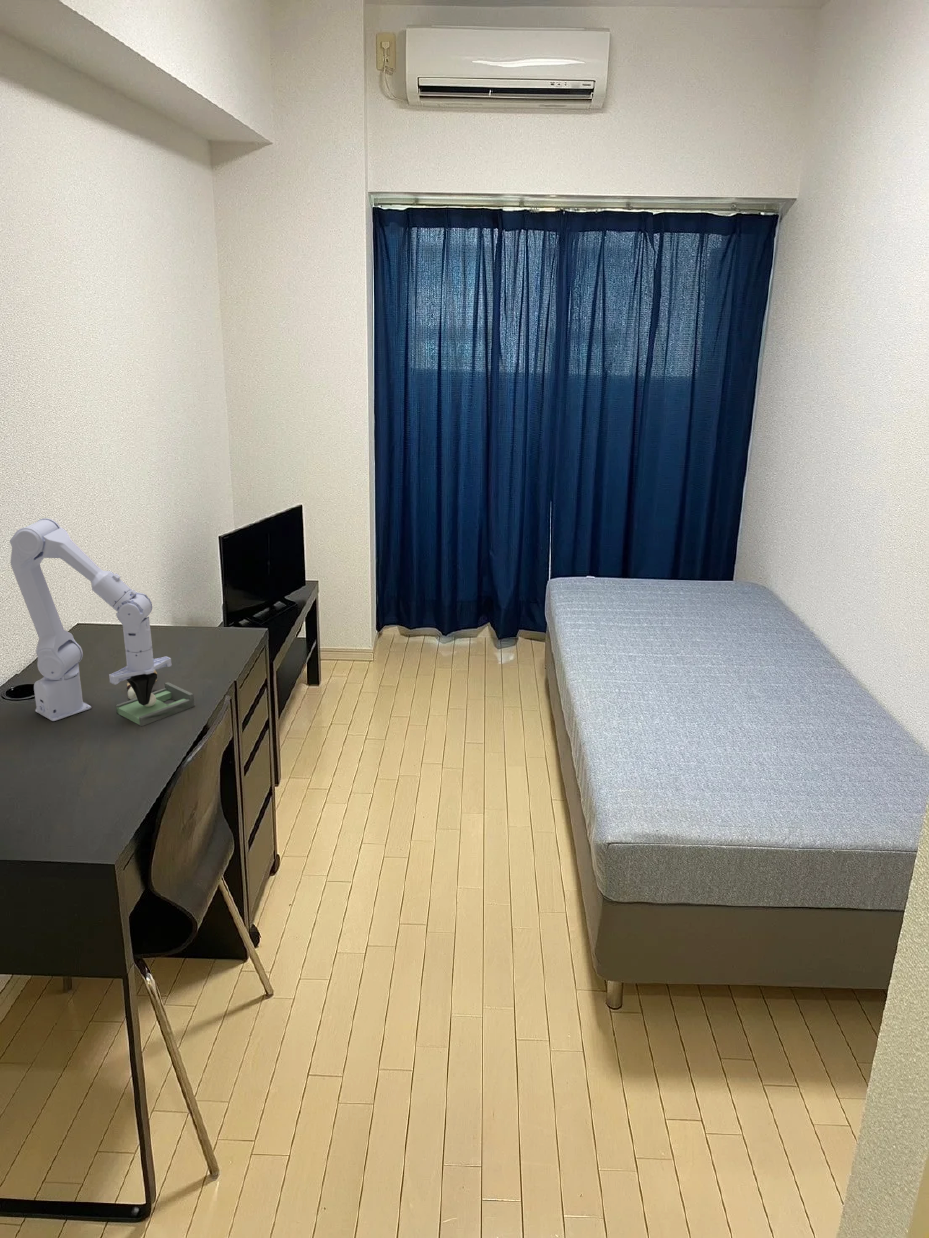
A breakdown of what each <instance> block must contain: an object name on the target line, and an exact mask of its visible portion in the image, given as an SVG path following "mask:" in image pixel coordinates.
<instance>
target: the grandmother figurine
mask: <svg viewBox="0 0 929 1238" xmlns="http://www.w3.org/2000/svg"><path fill="white" fill-rule="evenodd" d="M154 673H156V674H157V675H158V672H157V671H156V670H154ZM156 682H158V678H157V679H156V681H155V683H156ZM126 689H127V697H128V699H129V700H132V699H135V698H137V696H136V694H135V692H134V690H133V688H132V687H131V685H130V684H129V682H127V683H126Z"/></svg>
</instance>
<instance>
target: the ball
mask: <svg viewBox="0 0 929 1238" xmlns="http://www.w3.org/2000/svg"><path fill="white" fill-rule="evenodd" d="M155 703H156V697H155V695H154V694H152V692H151V696H150V701H149V703H148V704H146V705H144V706H146V707H151V706H153V705H154V704H155Z"/></svg>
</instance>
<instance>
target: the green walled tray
mask: <svg viewBox="0 0 929 1238" xmlns="http://www.w3.org/2000/svg"><path fill="white" fill-rule="evenodd" d="M151 693H152V694H154V695H155V697H156V703H155V704H154V705H153V706H151V707H146V706H143V705H141V704H139V702H138V699H137V698H135V699H132V700H131V699H129V700H127V701H123V702H120V703H118V704H115V710H116V714H118V715H119V716H121V717H124V718H125V719H127V720H129V721H131V722H133V723H135V724H137V725H139V726H141V727H144V726H146V725H149V724H152V723H154V722H156V721H160V720H163V719H164V718H169V717H171V716H172V715H175V714H178V713H181V712H183V711H187V710H188V709H191V708H194V707H195V697H194V693H192V692H191V691H188V690H186V689H184V688H182V687H179V686H177V685H175V684H173V683H171V682H169V681H168V682H164V688H161V689H158V690H156V691H153V692H152V691H151ZM169 700H174V702H173V701H172V702H170V703H165V701H169Z"/></svg>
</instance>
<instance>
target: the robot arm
mask: <svg viewBox="0 0 929 1238" xmlns="http://www.w3.org/2000/svg"><path fill="white" fill-rule="evenodd" d="M9 544H10V545H11V552H10V553H11V555H10V566H11V569H12V572H13V575H14V576H15V579H16V583H17V584H18V587H19V590H20V592H21V595H22V598H23V600H24V603H25V605H26V608H27V610H28V613H29V615H30V619H31V621H32V624H33V626H34V629H35V631H36V634H37V637H38V641H37V645H36V649H35V653H36V656H37V664H36V665H37V669H38V672H39V673H40V674H41V675H42V676H43V677H42V678H40V679H39V680H36V681H35V682H34V684H33V691H34V692H33V693H34V699H35V707H36V708H35V712H36V713H38V714H40V715H41V716H42V717H45V718H47V719H48V720H50V721H51V722H55V721H58V720H61V719H64V718H67V717H71V716H73V715H76V714H78V713H81V712H84V711H87V710H91V709H92V705H89V704H88V703H87V702H84V701H83V692H82V683H81V676H80V675H81V674H80V665H79V664H80V662H81V661H82V659H83V657H84V652H83V648H82V647H81V645H79V643H77V641H76V640H75V639H74V635H73V634H72V633H71V632H69V631H67V630H65V628H64V626H63V623H62V620H61V618H60V616H59V613H58V610H57V607H56V604H55V601H54V599H53V597H52V594H51V591H50V589H49V586H48V582H47V581H46V577H45V575H44V573H43V570H42V566H41V563H42V561H43V560H44V559H48V558H49V559H60V560H62V561H63V562H65V563H66V564H67V565H68V566H70V567H71V568H73V569H74V570H75V571H76V572H77V573H79V574H80V575H81V576H83V577H84V578H85V579H86V580H87V581H89V582H90V584H91V590H92V591H93V592H94V593H95V594H96V595H97V596H98V597H100V598H101V599H102V600H103V601H104V602H105V603H107V605H108V606H110V607H111V608H112V609H113V610H114V611H116V613H115V614H116V615H115V616H116V618H117V620H118V622H119V623H121V625H122V631H123V640H124V641H123V642H124V650H125V658H126V659H125V660H126V666H124V667H122V668H120V669H119V670H117V671H114V672H113V673H109V674H108V676H109V677H108V678H109V683H111V684H112V685H118V684H120V683H121V682H123V681H126V682H127V683H129V684H130V685H131V687H132V688H133V690H134V692H135V694H136V696H137V699H138V702H139V704H141V705H143V706H144V705H146V704H148V703H149V701H150V696H151V693H152V690H153V688H154V686H155V683H156V682H157V681H156V679H157V680H158V673H157V674H156V673H154V670H155V671H156V670H159V669H163V668H165V667H166V668H169V667H172V658H171V657H169V656H167V655H166V656H165V655H164V656H163V657H158V658H154V654H153V653H154V652H153V651H154V650H153V643H152V640H153V639H152V632H151V631H152V630H151V624H150V621H151V620H150V614H151V613H152V610H153V603H152V601H151V598H150V597H148V596H147V594H145V593H144V592H137V591H136V589H132V588H131V587H130V586H129V585H128V584H126V583H125V582H124V581H123V580H122V579H121V575H119V574H118V573H115V572H113V571H111V570H103V569H102V568H101V567H99V566H98V565H97V564H96V562H94V560H92V559H91V557H90V556H88V555H87V553H85V552H84V551H83V550H82V548H80V546H78V544H76V542H74V541H73V540H72V539H71V536H70V535H69V533H68V531H67V530H66V529H65V528H63V527H61V526H60V525H59V523H58V522H57V521H56V520H54V519H52V518H47V517H45V518H39V520H37V521H36V522H33V523H32V524H29V525H26V526H25V527H21V528H19V529H17V530H16V532H15V533H14V534H13V536H12V537H11V538H10V540H9ZM155 681H156V682H155Z"/></svg>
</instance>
